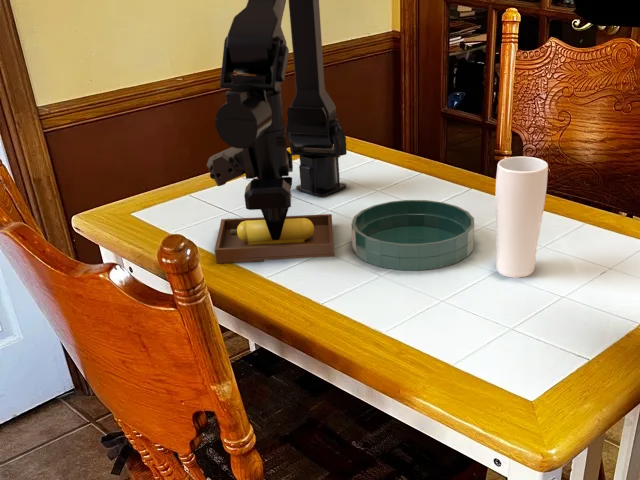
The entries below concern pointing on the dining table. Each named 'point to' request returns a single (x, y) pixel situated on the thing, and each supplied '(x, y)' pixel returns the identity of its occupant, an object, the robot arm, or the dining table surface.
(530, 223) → the drinking glass
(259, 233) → the yellow gas canister
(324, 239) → the tray
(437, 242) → the green round cake pan
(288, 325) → the dining table surface
